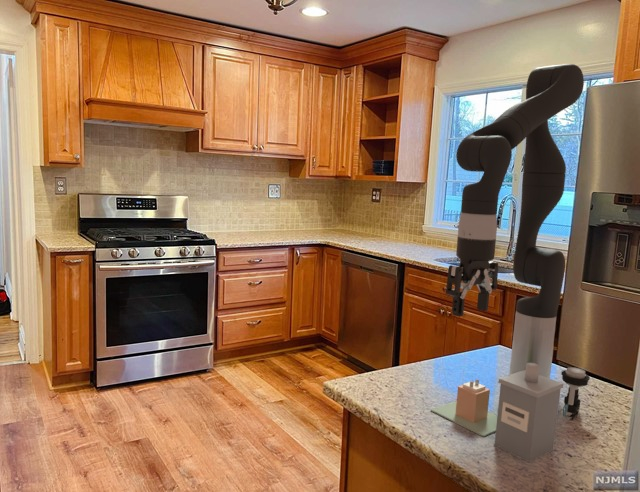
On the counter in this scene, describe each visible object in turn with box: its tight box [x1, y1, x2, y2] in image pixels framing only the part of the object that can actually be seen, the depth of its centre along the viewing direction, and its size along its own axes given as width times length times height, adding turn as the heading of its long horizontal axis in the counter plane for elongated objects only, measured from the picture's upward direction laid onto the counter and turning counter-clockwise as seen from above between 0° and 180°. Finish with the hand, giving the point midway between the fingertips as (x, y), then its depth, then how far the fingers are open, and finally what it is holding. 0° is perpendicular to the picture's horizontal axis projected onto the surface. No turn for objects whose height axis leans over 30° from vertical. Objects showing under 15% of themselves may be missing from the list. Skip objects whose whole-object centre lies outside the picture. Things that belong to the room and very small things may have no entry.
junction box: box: [493, 363, 565, 463], centre depth 95 cm, size 9×8×16 cm
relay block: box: [455, 378, 491, 423], centre depth 107 cm, size 4×4×8 cm
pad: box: [430, 400, 498, 438], centre depth 107 cm, size 10×13×1 cm
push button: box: [560, 366, 591, 421], centre depth 109 cm, size 7×5×10 cm
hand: (470, 312), depth 108 cm, fingers open, 8 cm apart
